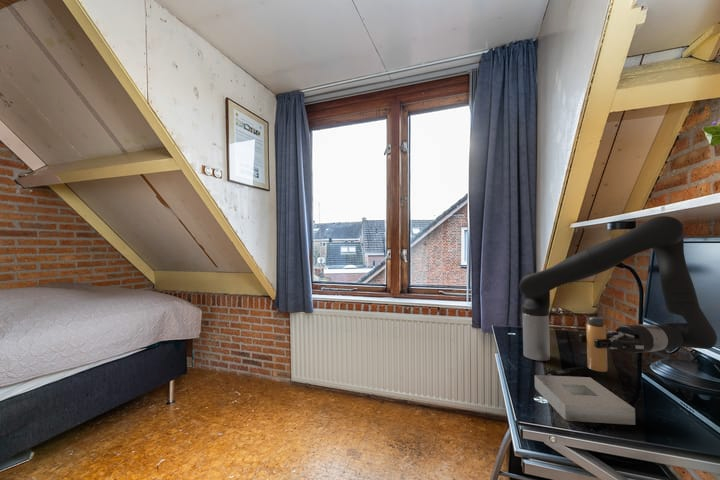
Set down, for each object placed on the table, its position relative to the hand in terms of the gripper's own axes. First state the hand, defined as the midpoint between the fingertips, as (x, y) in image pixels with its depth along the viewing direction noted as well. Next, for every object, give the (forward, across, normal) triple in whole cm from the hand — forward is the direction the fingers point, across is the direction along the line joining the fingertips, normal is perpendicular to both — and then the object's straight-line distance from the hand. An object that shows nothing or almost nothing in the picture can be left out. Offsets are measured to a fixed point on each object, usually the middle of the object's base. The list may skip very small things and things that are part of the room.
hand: (588, 341), depth 84 cm
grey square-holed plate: (+2, -1, +18) cm, 18 cm away
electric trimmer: (-8, -18, +18) cm, 27 cm away
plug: (-3, 0, +8) cm, 8 cm away
